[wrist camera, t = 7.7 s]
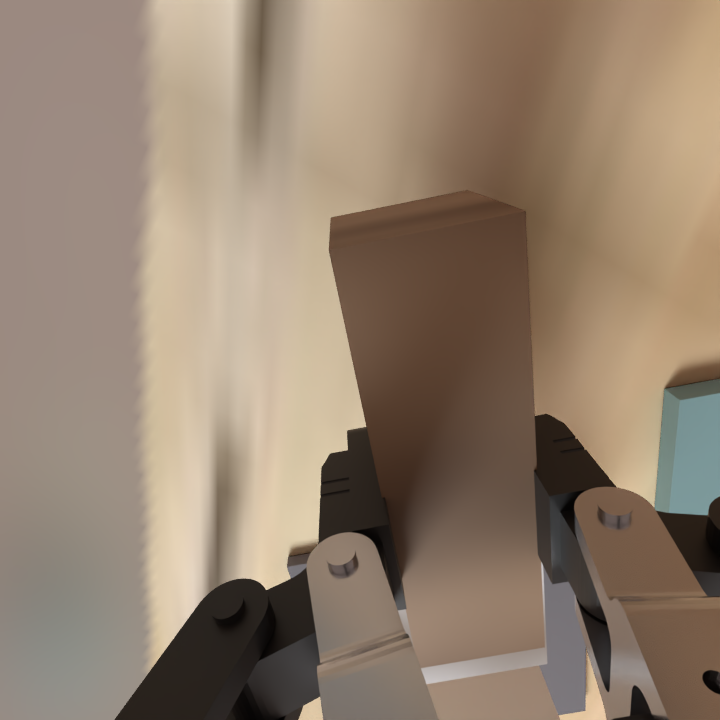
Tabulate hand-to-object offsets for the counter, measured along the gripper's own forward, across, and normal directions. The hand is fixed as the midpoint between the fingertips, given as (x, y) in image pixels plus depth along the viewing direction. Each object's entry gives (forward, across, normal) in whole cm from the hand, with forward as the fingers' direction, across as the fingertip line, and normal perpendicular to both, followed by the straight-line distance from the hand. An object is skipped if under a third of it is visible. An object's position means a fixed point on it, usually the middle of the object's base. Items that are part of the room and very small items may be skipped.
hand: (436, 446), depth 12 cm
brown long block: (+1, 0, +2) cm, 2 cm away
